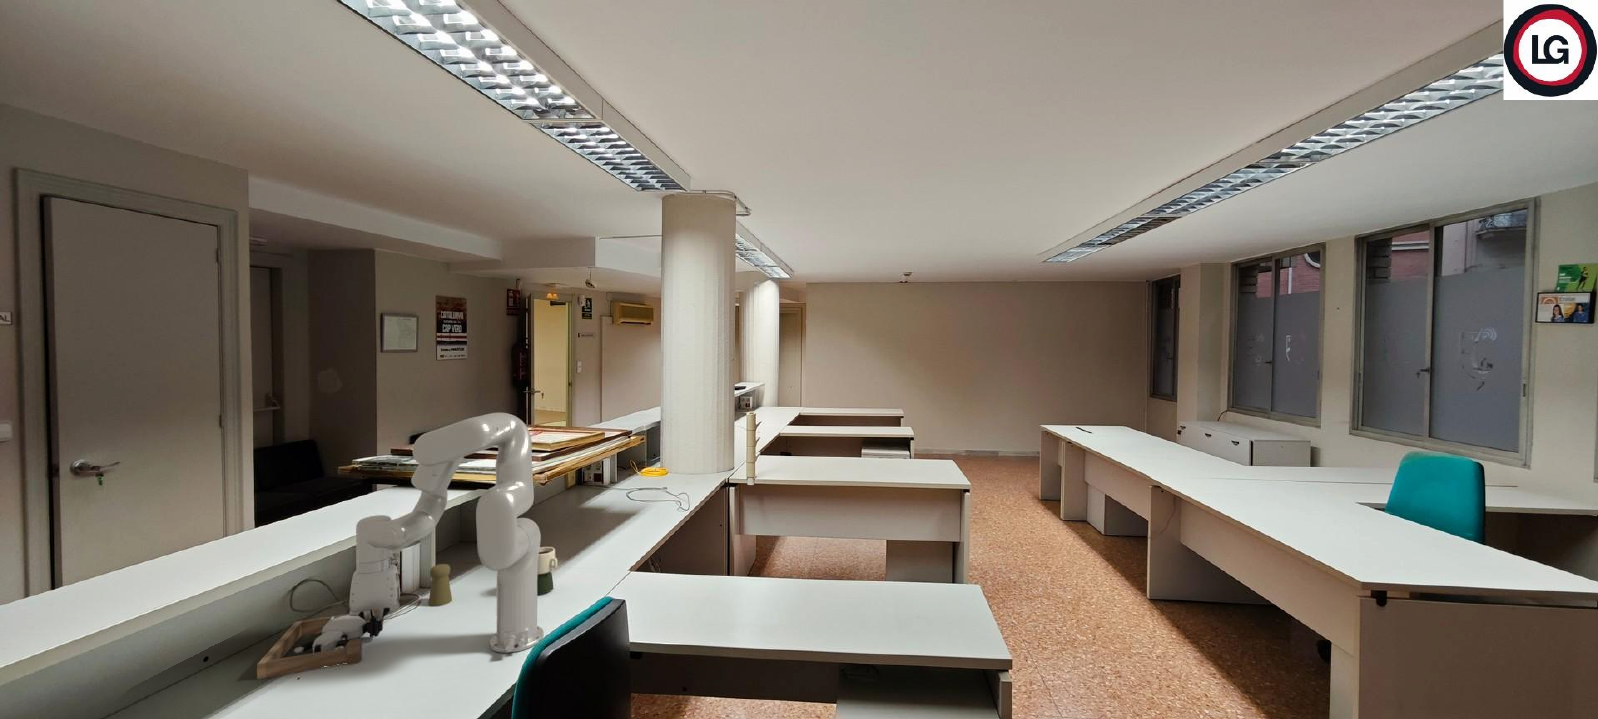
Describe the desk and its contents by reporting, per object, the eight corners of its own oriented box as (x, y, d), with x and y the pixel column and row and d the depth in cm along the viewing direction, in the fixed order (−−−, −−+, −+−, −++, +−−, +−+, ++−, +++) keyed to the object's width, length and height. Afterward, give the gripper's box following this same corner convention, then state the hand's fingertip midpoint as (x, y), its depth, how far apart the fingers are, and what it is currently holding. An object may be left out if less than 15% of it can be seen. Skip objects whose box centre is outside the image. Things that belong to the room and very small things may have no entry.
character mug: (564, 589, 180) (565, 548, 179) (548, 598, 173) (548, 556, 173) (537, 584, 183) (537, 544, 183) (520, 593, 176) (520, 552, 176)
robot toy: (342, 662, 139) (383, 627, 154) (341, 644, 138) (382, 611, 153) (289, 663, 138) (335, 628, 153) (288, 646, 138) (334, 612, 153)
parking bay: (358, 662, 137) (358, 642, 137) (255, 680, 129) (255, 659, 129) (383, 620, 158) (383, 602, 158) (296, 633, 151) (296, 614, 151)
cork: (426, 601, 171) (426, 564, 170) (450, 595, 174) (450, 560, 174) (429, 608, 166) (429, 570, 166) (453, 602, 170) (453, 566, 170)
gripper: (412, 555, 154) (412, 622, 154) (343, 563, 148) (344, 633, 148) (405, 565, 147) (406, 635, 148) (333, 574, 141) (334, 647, 141)
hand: (375, 634), depth 148 cm, fingers closed
